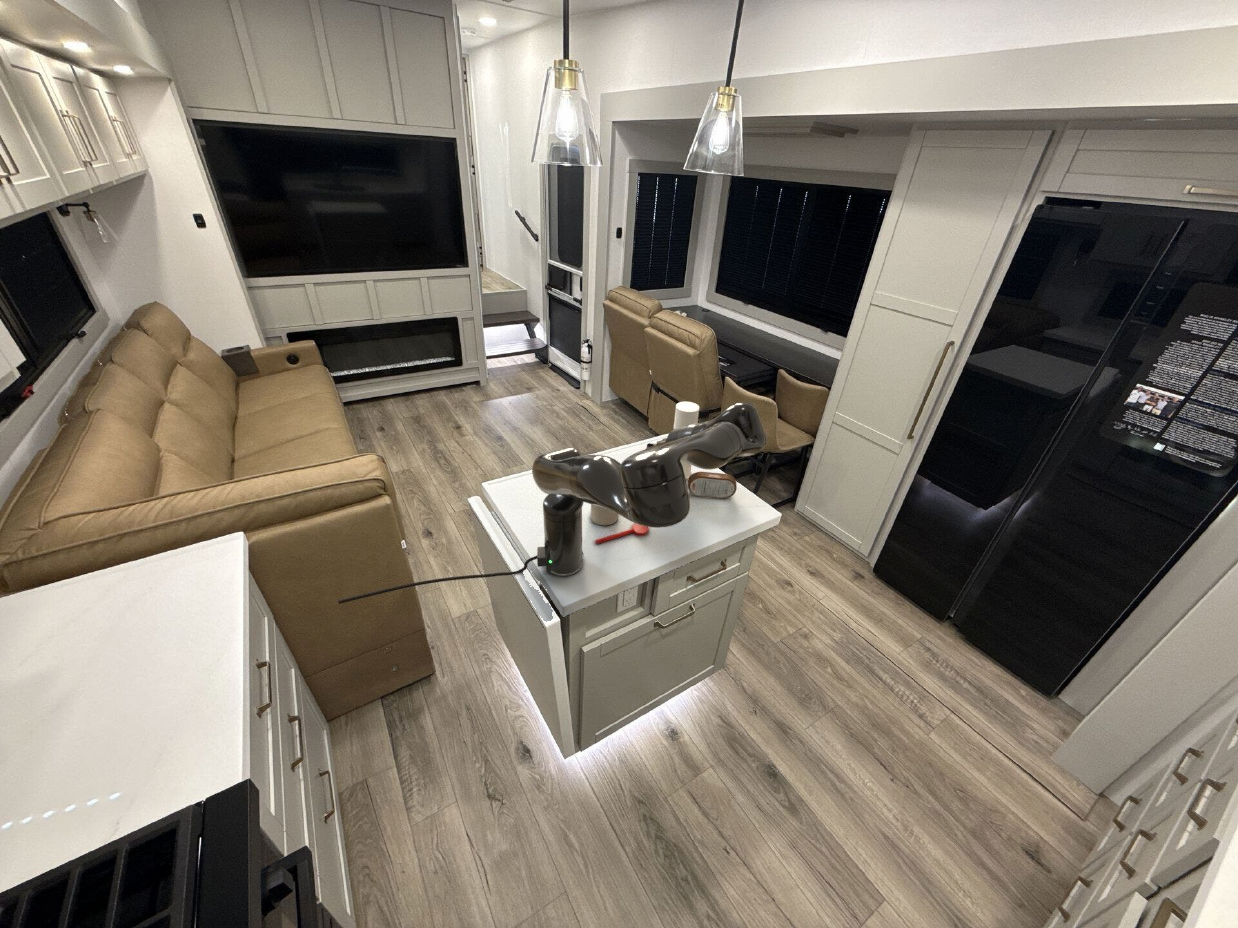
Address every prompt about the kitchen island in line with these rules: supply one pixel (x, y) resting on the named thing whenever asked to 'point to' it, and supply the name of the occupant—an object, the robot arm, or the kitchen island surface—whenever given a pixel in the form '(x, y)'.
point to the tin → (712, 485)
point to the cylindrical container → (686, 416)
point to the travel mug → (603, 515)
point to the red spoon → (626, 533)
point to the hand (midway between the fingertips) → (649, 451)
